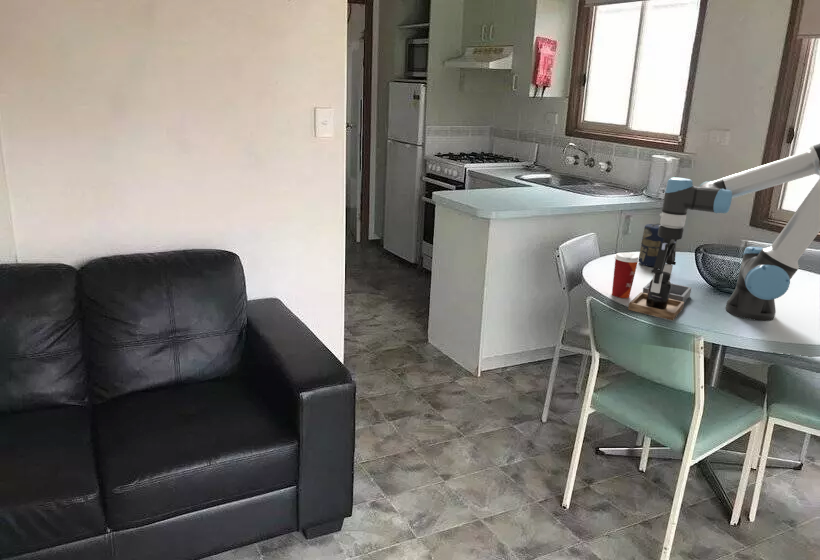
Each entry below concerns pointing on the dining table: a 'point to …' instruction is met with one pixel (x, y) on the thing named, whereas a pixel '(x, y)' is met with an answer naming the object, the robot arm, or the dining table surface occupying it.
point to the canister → (650, 245)
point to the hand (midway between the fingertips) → (660, 287)
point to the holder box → (675, 292)
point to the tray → (668, 313)
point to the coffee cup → (624, 274)
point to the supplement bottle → (660, 298)
